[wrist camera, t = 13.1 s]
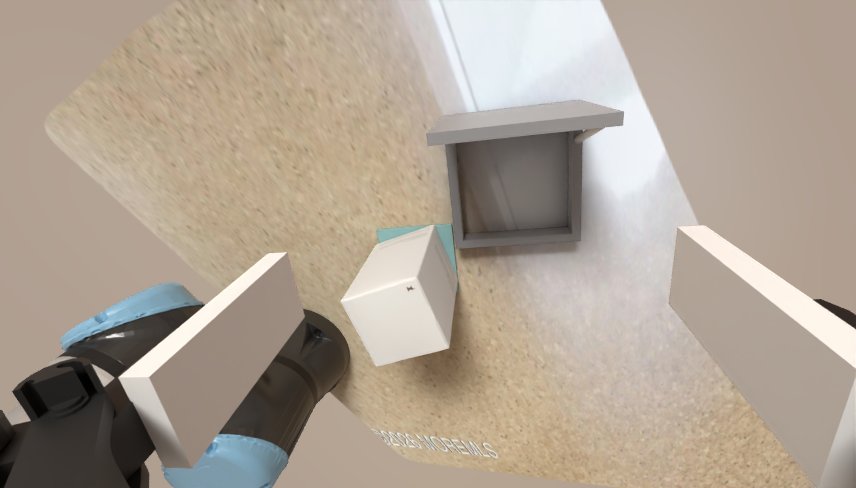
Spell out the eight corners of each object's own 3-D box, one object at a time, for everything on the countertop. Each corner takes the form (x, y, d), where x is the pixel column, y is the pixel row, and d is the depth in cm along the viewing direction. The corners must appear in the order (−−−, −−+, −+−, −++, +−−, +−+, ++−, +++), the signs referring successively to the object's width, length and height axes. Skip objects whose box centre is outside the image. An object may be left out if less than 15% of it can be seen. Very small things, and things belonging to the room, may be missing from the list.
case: (457, 241, 53) (447, 304, 38) (444, 115, 47) (426, 133, 33) (576, 233, 51) (613, 298, 36) (578, 99, 45) (623, 111, 30)
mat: (389, 294, 58) (388, 295, 57) (377, 229, 54) (376, 230, 54) (458, 291, 56) (458, 292, 56) (451, 223, 52) (451, 224, 52)
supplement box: (373, 243, 54) (336, 300, 41) (435, 222, 52) (417, 275, 38) (400, 299, 57) (373, 369, 44) (459, 281, 55) (451, 350, 41)
